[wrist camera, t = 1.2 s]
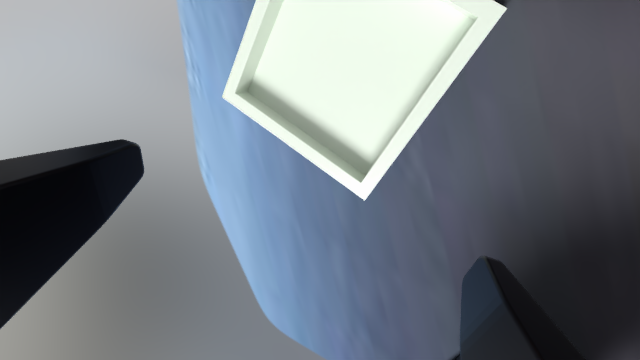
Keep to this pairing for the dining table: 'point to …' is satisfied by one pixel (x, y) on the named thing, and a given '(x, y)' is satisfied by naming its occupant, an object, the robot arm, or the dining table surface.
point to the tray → (353, 75)
